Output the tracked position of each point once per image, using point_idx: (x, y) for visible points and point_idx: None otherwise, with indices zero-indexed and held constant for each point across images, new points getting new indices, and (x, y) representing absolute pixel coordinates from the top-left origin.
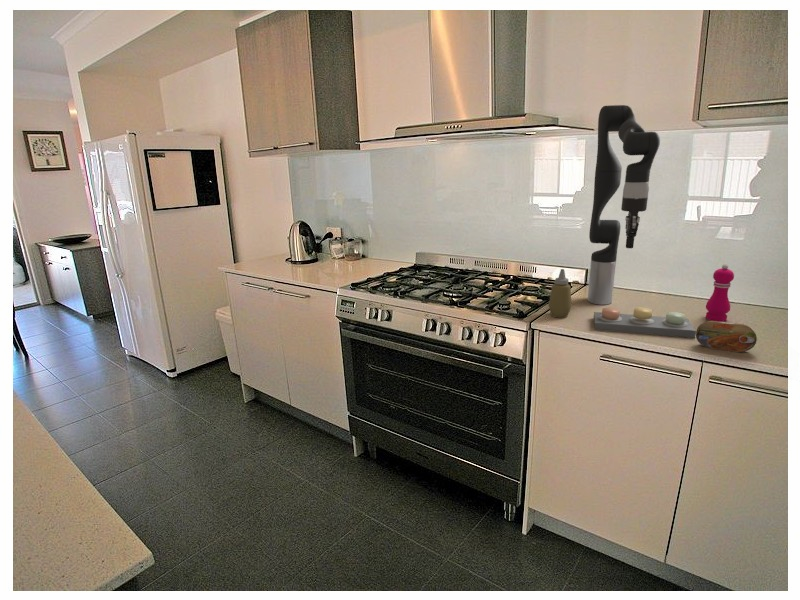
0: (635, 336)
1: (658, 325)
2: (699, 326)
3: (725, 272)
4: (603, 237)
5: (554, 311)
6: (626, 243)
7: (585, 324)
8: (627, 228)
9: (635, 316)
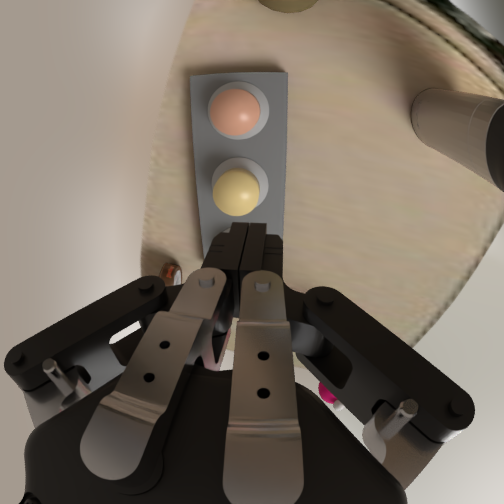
0: (178, 161)
1: (215, 214)
2: (164, 279)
3: (324, 396)
4: None
5: None
6: (228, 237)
7: (229, 54)
8: (152, 333)
9: (224, 172)
